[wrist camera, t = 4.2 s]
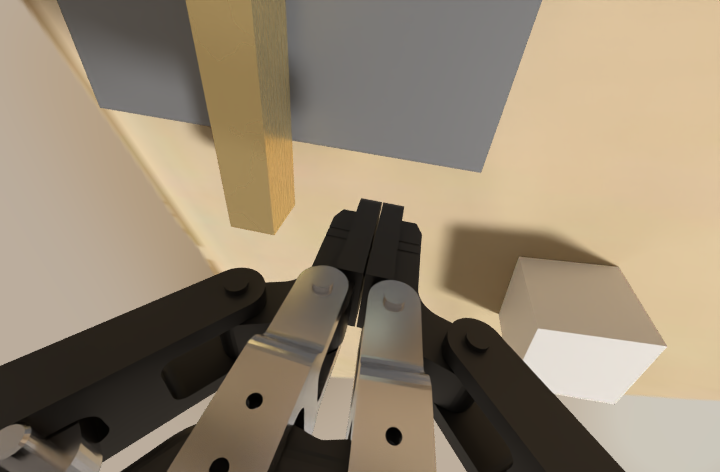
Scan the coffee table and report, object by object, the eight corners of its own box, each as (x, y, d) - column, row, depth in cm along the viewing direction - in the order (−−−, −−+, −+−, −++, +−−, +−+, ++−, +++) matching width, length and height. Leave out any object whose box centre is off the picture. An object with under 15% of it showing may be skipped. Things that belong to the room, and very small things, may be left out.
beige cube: (498, 313, 26) (509, 386, 21) (518, 255, 22) (536, 328, 17) (583, 324, 25) (614, 405, 20) (618, 265, 21) (667, 346, 16)
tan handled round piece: (120, -379, 9) (-46, -564, 6) (365, -380, 8) (317, -591, 5) (227, 184, 20) (188, 220, 17) (336, 204, 20) (315, 246, 17)
